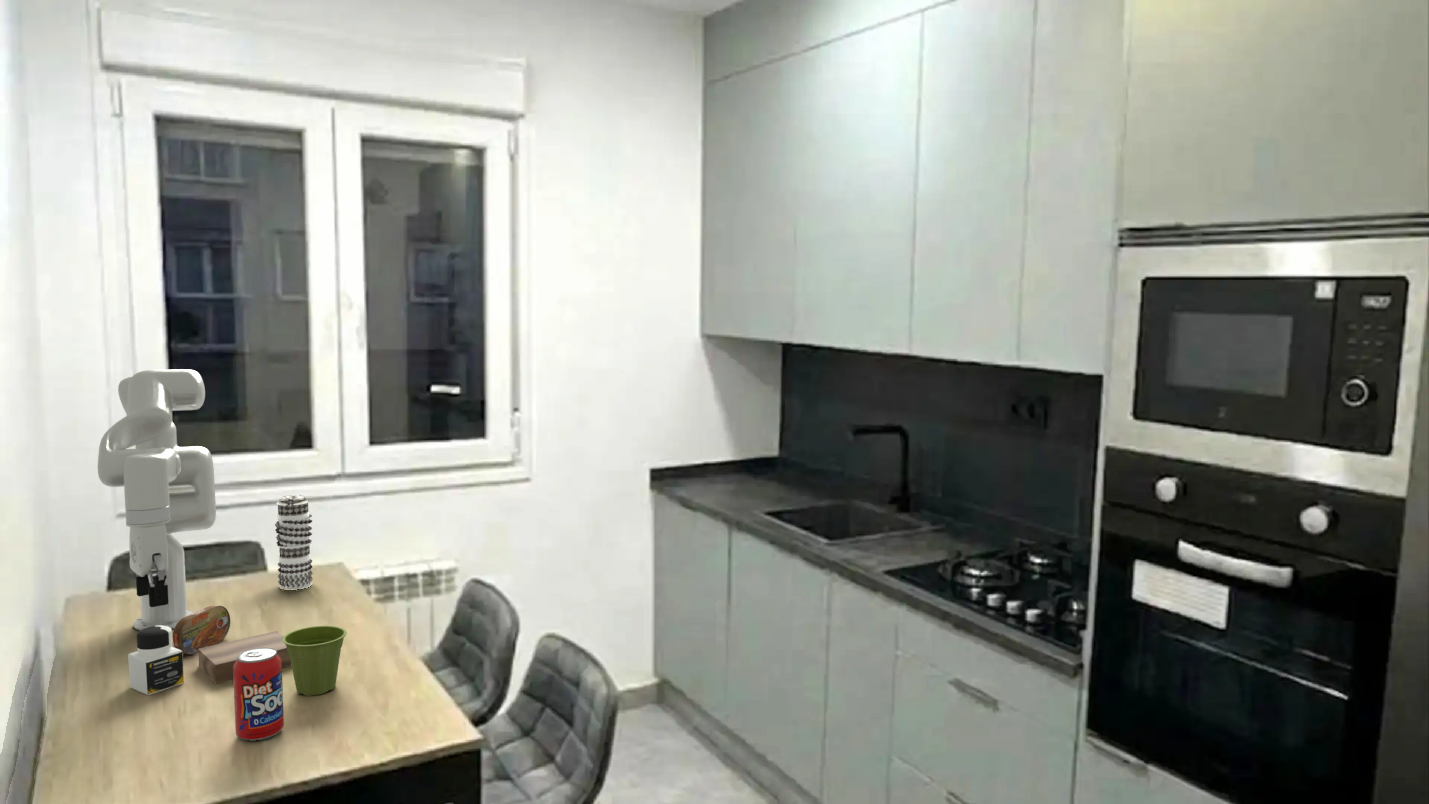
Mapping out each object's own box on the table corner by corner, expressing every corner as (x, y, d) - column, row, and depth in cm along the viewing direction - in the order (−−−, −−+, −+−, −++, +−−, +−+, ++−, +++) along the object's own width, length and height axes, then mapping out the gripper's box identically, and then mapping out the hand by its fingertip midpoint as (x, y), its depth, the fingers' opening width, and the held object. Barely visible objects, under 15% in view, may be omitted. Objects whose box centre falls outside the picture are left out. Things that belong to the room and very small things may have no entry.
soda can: (252, 723, 171) (249, 644, 169) (292, 725, 170) (290, 646, 169) (226, 742, 163) (222, 661, 162) (268, 745, 162) (264, 663, 161)
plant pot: (357, 689, 186) (356, 635, 185) (297, 706, 178) (295, 650, 177) (334, 672, 195) (332, 620, 193) (275, 688, 186) (273, 634, 185)
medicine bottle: (147, 696, 182) (144, 637, 181) (129, 687, 186) (126, 630, 184) (184, 683, 188) (181, 626, 187) (165, 676, 192) (163, 620, 190)
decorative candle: (321, 583, 255) (319, 495, 253) (294, 593, 247) (291, 501, 244) (297, 579, 259) (294, 491, 256) (269, 588, 250) (266, 498, 248)
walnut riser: (198, 666, 196) (197, 648, 196) (277, 648, 208) (276, 631, 207) (216, 683, 188) (215, 664, 188) (297, 663, 199) (296, 645, 199)
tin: (183, 660, 200) (181, 622, 199) (170, 659, 201) (168, 621, 200) (232, 636, 215) (230, 601, 214) (220, 635, 215) (219, 600, 215)
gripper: (115, 511, 187) (120, 594, 188) (137, 526, 174) (141, 614, 176) (158, 506, 192) (162, 587, 193) (181, 520, 179) (185, 606, 181)
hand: (152, 600), depth 184 cm, fingers open, 9 cm apart
